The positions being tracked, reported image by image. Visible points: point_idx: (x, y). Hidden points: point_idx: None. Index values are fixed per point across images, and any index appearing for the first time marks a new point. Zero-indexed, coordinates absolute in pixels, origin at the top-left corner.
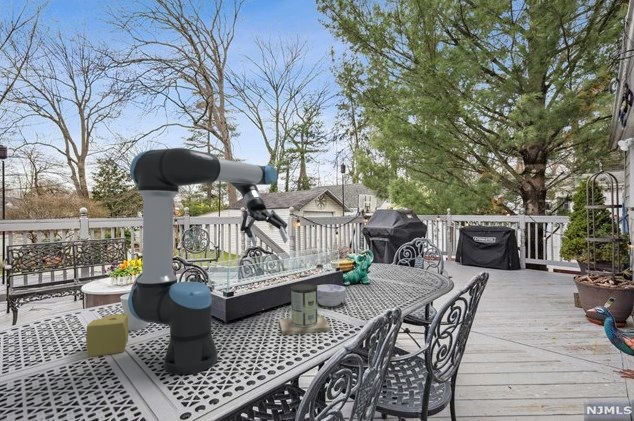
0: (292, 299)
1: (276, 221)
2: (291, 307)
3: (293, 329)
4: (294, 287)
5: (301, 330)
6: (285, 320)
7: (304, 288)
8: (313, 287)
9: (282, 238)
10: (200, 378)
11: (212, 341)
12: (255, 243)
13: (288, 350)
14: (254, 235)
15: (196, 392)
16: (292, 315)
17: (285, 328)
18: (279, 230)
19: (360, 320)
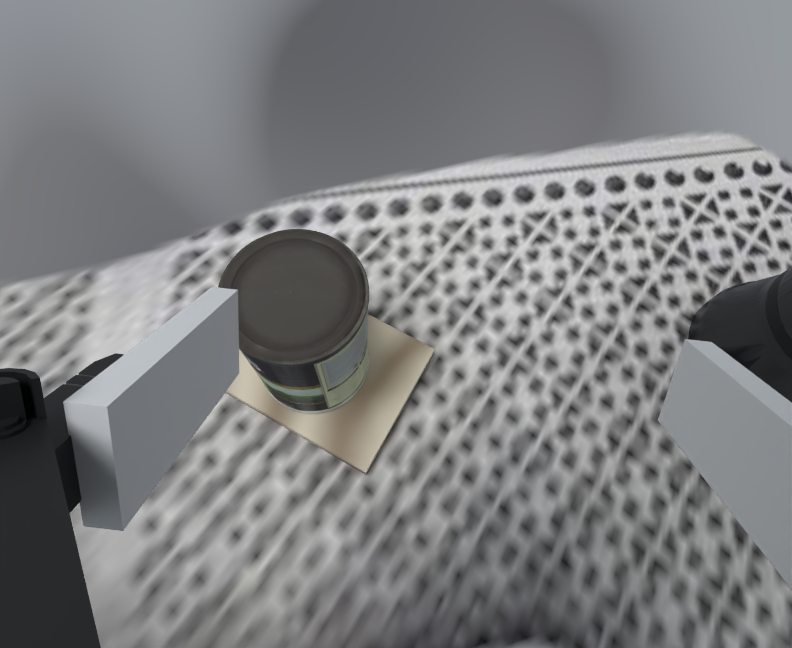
0: (365, 332)
1: (24, 569)
2: (358, 365)
3: (394, 333)
4: (338, 322)
5: (370, 317)
6: (355, 436)
7: (314, 270)
8: (265, 256)
9: (210, 405)
10: (749, 264)
11: (746, 296)
12: (673, 389)
13: (486, 249)
14: (748, 383)
15: (764, 217)
16: (366, 360)
17: (411, 361)
18: (124, 499)
19: (109, 276)
